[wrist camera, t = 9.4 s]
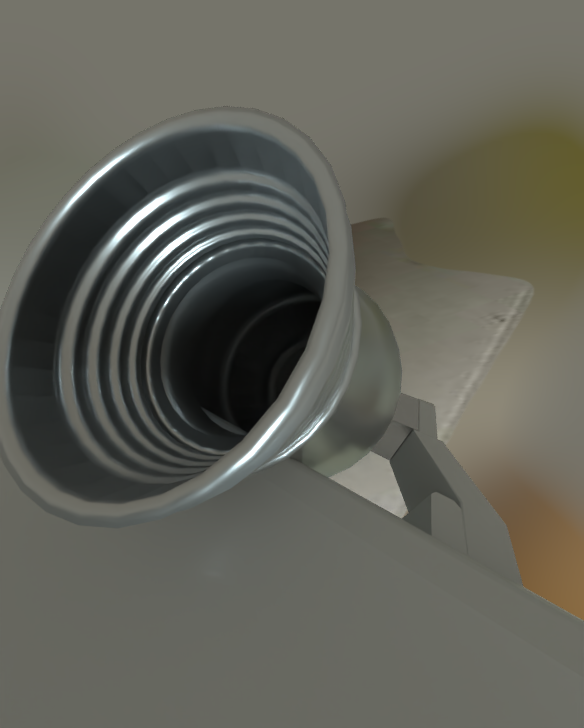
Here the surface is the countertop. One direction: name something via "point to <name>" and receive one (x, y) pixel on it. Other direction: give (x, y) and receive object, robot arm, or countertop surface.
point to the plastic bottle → (190, 325)
